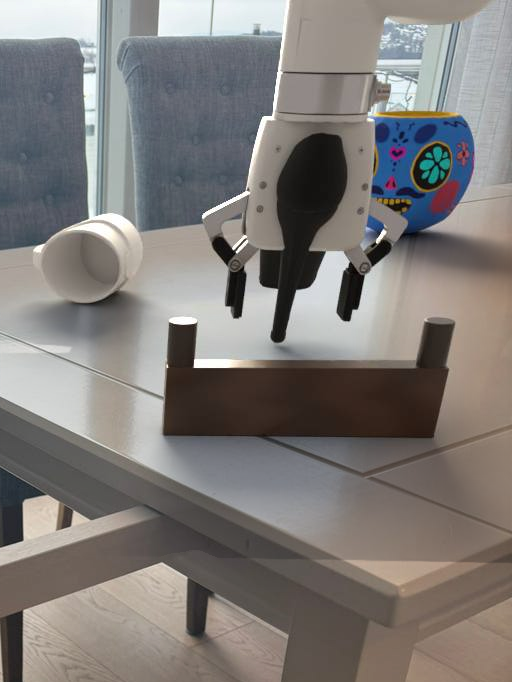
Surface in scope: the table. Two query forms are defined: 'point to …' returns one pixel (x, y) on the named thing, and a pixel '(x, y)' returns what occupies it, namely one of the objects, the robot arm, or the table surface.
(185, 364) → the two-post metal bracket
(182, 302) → the table surface
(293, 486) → the table surface
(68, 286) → the mug
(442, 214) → the ceramic pot
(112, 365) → the table surface
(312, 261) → the high-heeled shoe
